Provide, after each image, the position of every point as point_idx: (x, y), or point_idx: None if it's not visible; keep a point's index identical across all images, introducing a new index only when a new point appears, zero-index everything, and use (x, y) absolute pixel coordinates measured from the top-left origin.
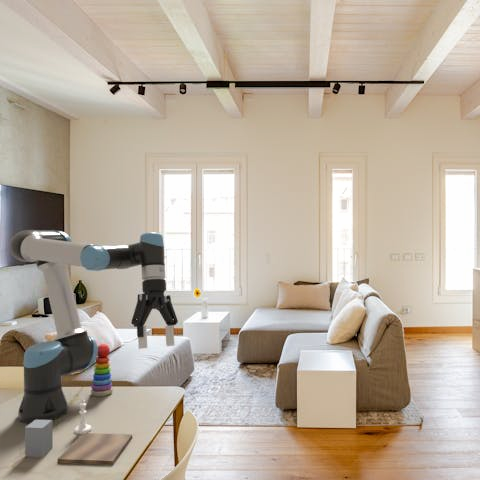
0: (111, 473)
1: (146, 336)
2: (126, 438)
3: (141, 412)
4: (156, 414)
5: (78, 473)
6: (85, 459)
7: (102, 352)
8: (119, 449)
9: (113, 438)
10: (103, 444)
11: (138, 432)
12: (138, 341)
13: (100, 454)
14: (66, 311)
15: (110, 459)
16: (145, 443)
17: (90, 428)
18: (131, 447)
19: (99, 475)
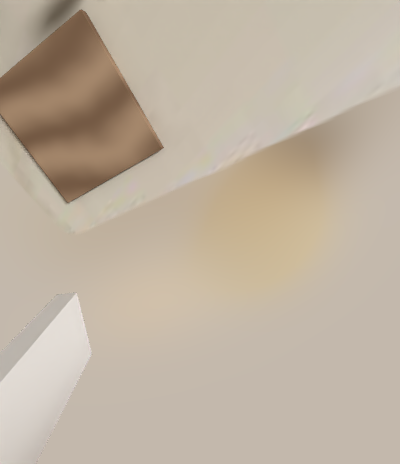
0: (56, 218)
1: (46, 433)
2: (139, 153)
3: (307, 25)
4: (313, 90)
5: (12, 168)
6: (30, 150)
7: None
8: (100, 179)
9: (119, 123)
10: (87, 128)
11: (193, 137)
12: (24, 330)
13: (61, 161)
14: None
15: (67, 194)
16: (164, 193)
17: None
18: (134, 180)
19: (39, 206)
